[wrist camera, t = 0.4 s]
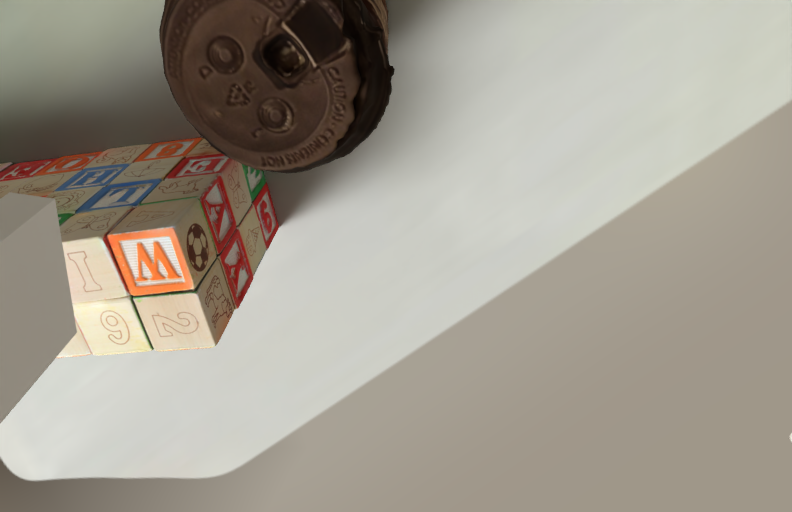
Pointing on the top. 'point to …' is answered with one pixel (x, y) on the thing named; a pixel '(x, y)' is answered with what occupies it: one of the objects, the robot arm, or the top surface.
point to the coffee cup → (279, 76)
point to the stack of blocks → (153, 241)
